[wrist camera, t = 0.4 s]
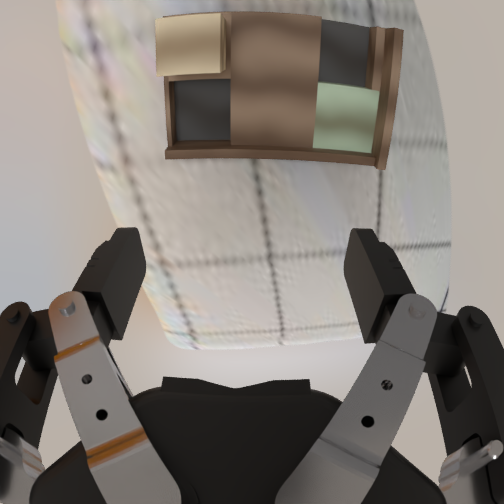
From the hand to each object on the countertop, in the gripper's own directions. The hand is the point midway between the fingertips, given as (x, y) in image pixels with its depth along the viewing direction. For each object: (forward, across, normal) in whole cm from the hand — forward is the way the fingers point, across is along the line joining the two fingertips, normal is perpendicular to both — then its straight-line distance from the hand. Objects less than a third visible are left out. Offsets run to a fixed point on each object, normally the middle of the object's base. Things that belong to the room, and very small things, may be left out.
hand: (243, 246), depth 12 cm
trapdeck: (+26, -3, -3) cm, 27 cm away
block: (+24, +5, -8) cm, 26 cm away
